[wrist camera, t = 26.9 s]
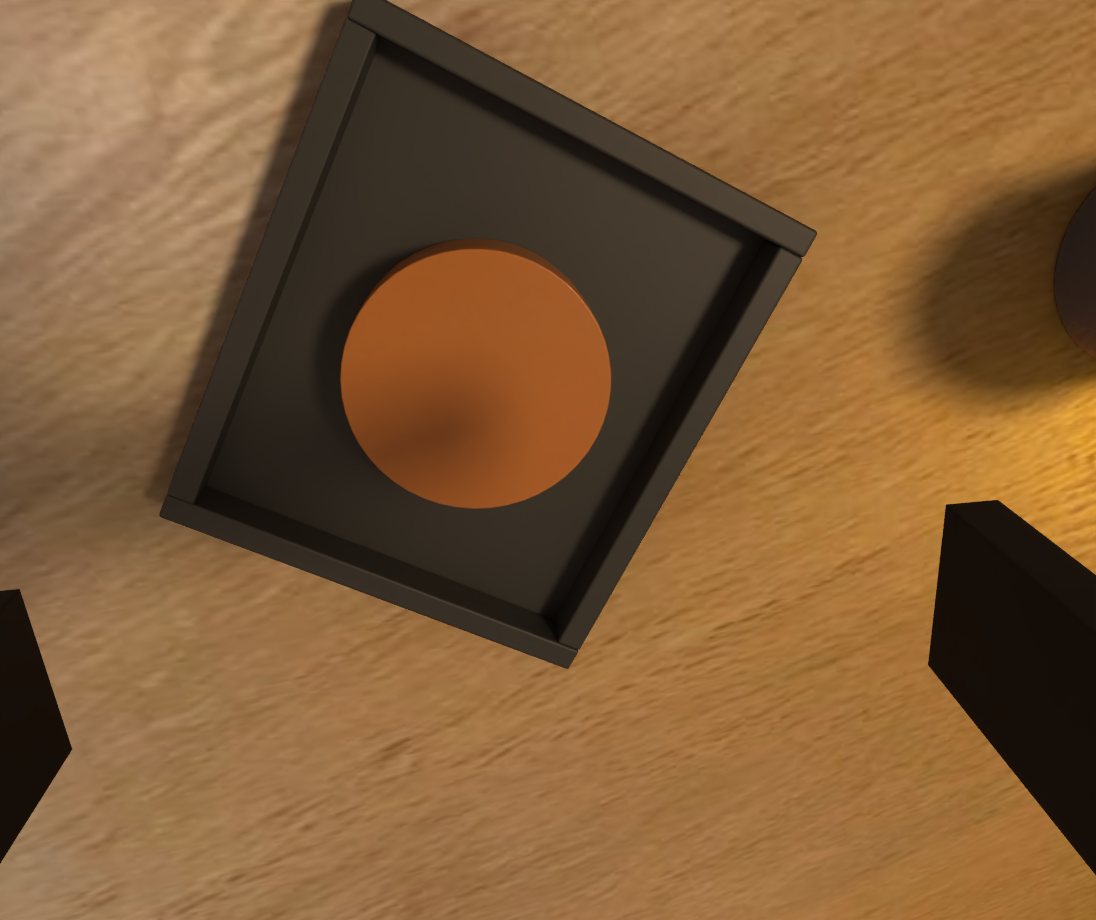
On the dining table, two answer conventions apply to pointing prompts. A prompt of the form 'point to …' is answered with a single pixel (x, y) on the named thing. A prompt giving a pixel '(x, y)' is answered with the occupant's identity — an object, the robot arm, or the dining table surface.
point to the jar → (1079, 277)
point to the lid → (475, 374)
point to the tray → (474, 213)
